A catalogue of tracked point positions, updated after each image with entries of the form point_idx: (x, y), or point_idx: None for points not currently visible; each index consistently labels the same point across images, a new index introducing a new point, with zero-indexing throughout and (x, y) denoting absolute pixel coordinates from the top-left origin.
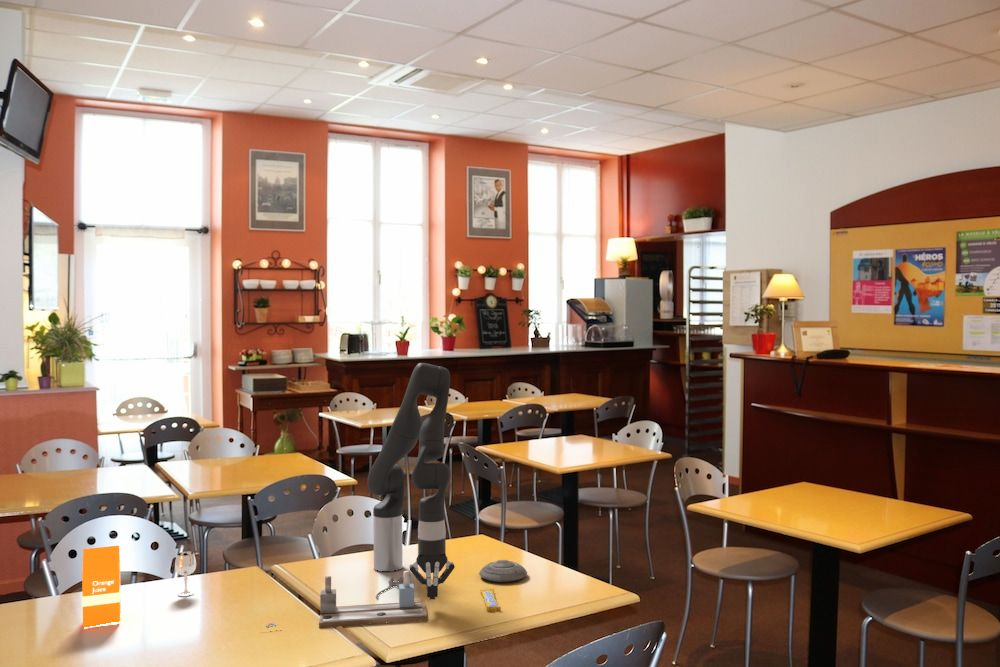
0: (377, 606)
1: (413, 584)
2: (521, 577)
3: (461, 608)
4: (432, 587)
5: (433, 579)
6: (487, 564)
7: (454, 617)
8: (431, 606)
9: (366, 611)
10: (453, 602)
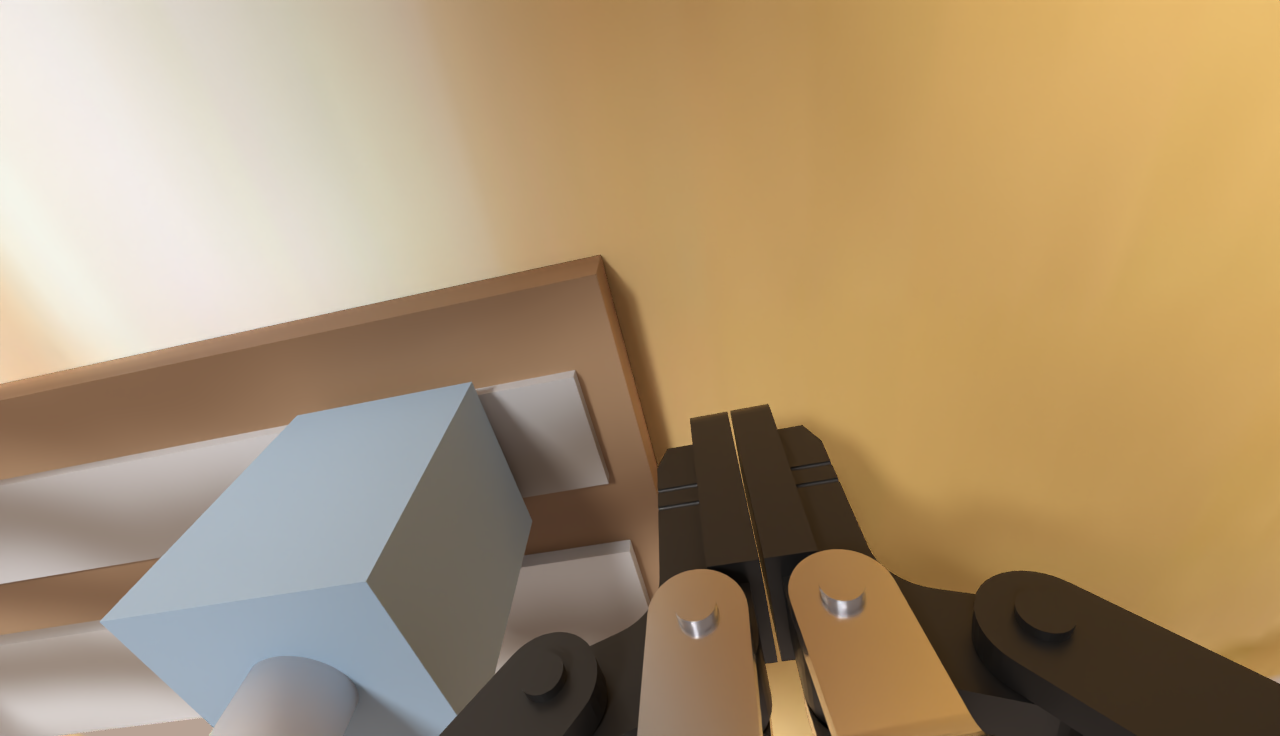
0: (115, 498)
1: (391, 622)
2: None
3: (1067, 331)
4: (769, 599)
5: (824, 667)
6: None
7: (938, 550)
8: (698, 277)
9: (94, 575)
10: (1014, 98)
